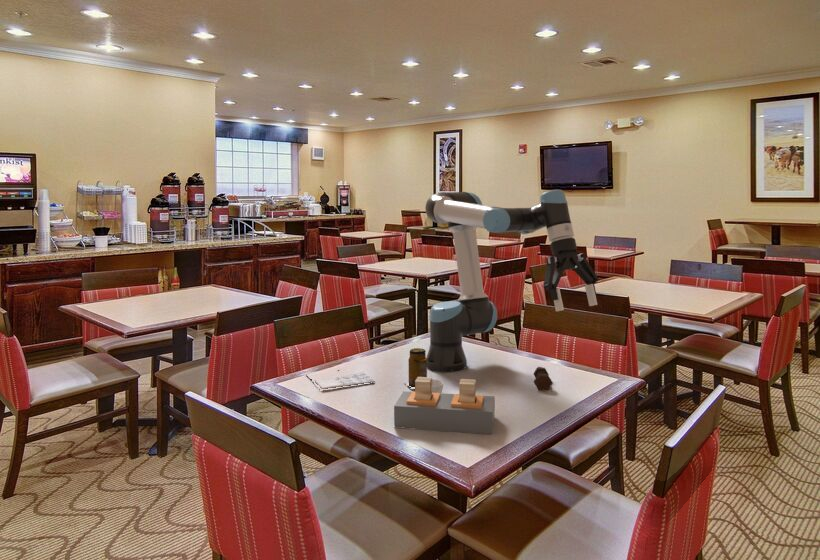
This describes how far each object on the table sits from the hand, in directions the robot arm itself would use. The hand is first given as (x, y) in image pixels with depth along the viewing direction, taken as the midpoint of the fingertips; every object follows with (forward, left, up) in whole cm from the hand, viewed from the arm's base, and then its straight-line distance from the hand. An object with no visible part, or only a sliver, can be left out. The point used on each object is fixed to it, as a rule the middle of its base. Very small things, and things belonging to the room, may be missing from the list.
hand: (577, 308), depth 166 cm
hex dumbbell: (-12, -9, -28) cm, 32 cm away
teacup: (+7, -43, -28) cm, 52 cm away
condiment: (-2, -49, -28) cm, 57 cm away
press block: (+27, -36, -28) cm, 53 cm away
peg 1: (+27, -42, -23) cm, 55 cm away
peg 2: (+27, -30, -23) cm, 46 cm away
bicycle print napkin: (-5, -77, -29) cm, 83 cm away
